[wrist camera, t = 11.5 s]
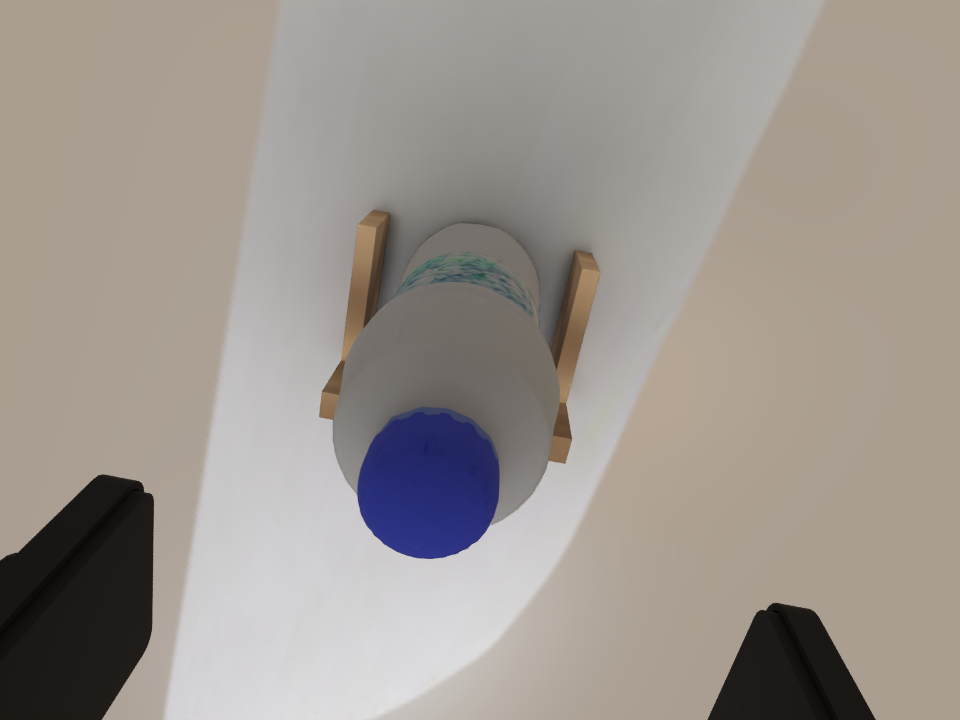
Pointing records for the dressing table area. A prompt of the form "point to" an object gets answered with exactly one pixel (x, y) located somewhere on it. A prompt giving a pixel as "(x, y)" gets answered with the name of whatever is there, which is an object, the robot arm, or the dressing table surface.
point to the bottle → (449, 396)
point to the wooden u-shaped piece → (564, 342)
